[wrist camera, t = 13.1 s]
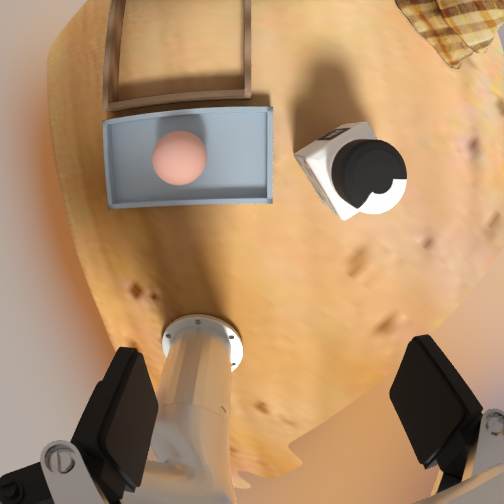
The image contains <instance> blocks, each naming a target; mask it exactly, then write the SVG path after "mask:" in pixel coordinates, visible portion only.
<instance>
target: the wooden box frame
mask: <svg viewBox="0 0 504 504" xmlns="http://www.w3.org/2000/svg"><path fill="white" fill-rule="evenodd" d="M125 2H126V0H112V2H111V8H110V14H109V21H108V29H107V38H106V48H105V60H104V75H103V110H104V111H110V112H116V111H121V110H127V109H133V108H140V107H147V106H155V105H163V104H172V103H182V102H194V101H210V100H238V99H251V0H245V89H241V90H211V91H196V92H184V93H174V94H165V95H157V96H150V97H143V98H136V99H130V100H125V101H119V102H118V73H119V56H120V43H121V33H122V24H123V16H124V8H125Z"/></svg>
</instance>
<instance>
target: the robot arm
mask: <svg viewBox="0 0 504 504" xmlns="http://www.w3.org/2000/svg"><path fill="white" fill-rule="evenodd" d="M162 349H163V353H164V355H165V357H166V358H167V359H166V362H165V365H164V369H163V372H162V375H161V379H160V382H159V385H158V389H157V392H156V395H155V392H154V389H153V386H152V383H151V380H150V377H149V374H148V371H147V367H146V364H145V361H144V357H143V355H142V353H138V350H137V349H136V348H129V347H119V349H118V350H117V352H116V354H115V356H114V358H113V360H112V362H111V364H110V366H109V368H108V370H107V372H106V374H105V376H104V378H103V380H102V381H100V382H98V384H97V385H96V387H95V389H94V391H93V393H92V395H91V397H90V399H89V401H88V404H87V406H86V408H85V410H84V412H83V414H82V417H81V419H80V421H79V423H78V425H77V428H76V430H75V432H74V435H73V437H72V439H71V442H67V441H63V440H58V441H53V442H51V443H49V444H48V445H47V446H46V447H45V448H44V449H43V451H42V453H41V457H40V462H38V463H35V464H33V465H30V466H27V467H25V468H22V469H19V470H16V471H13V472H10V473H7V474H5V475H3V476H2V477H1V478H0V504H237V503H236V498H235V493H234V488H233V483H232V477H231V470H230V409H231V380H232V371H233V370H234V369H235V368H236V367H237V366H238V364H239V363H240V361H241V359H242V354H243V344H242V341H241V338H240V336H239V334H238V333H237V332H236V330H235V329H234V328H233V327H232V326H231V325H229V324H228V323H227V322H225V321H223V320H221V319H219V318H216V317H214V316H210V315H205V314H191V315H186V316H182V317H180V318H178V319H176V320H174V321H173V322H172V323H170V324H169V326H168V327H167V328H166V330H165V332H164V334H163V338H162ZM389 395H390V399H391V401H392V403H393V406H394V408H395V410H396V412H397V414H398V416H399V418H400V420H401V423H402V425H403V427H404V429H405V432H406V434H407V436H408V438H409V440H410V443H411V445H412V447H413V450H414V452H415V454H416V456H417V459H418V461H419V463H420V464H423V465H424V467H425V469H428V468H431V467H433V466H436V465H437V464H438V465H439V467H440V470H439V473H438V476H437V479H436V482H435V485H434V487H433V490H432V493H431V495H430V497H428V498H426V499H423V500H421V501H418V502H416V503H413V504H504V412H503V411H502V410H499V409H489V410H487V411H486V412H485V413H484V414H482V413H481V411H482V410H483V407H482V406H481V404H480V403H479V401H478V400H477V399H476V397H475V395H474V394H473V393H472V391H471V390H470V388H469V387H468V385H467V384H466V383H465V381H464V380H463V378H462V377H461V376H460V374H459V373H458V372H457V370H456V369H455V368H454V366H453V365H452V363H451V362H450V361H449V360H448V358H447V357H446V356H445V354H444V353H443V352H442V351H441V349H440V348H439V347H438V346H437V344H436V343H435V342H434V340H433V339H432V338H431V336H429V335H427V334H426V335H421V336H415V337H414V338H413V339H412V341H410V342H409V344H408V346H407V349H406V352H405V354H404V357H403V360H402V362H401V365H400V367H399V370H398V372H397V375H396V377H395V380H394V382H393V384H392V386H391V389H390V393H389ZM150 445H151V448H152V450H153V452H154V454H155V456H156V457H157V459H158V461H159V462H156V461H149V460H147V455H148V451H149V447H150Z"/></svg>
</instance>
